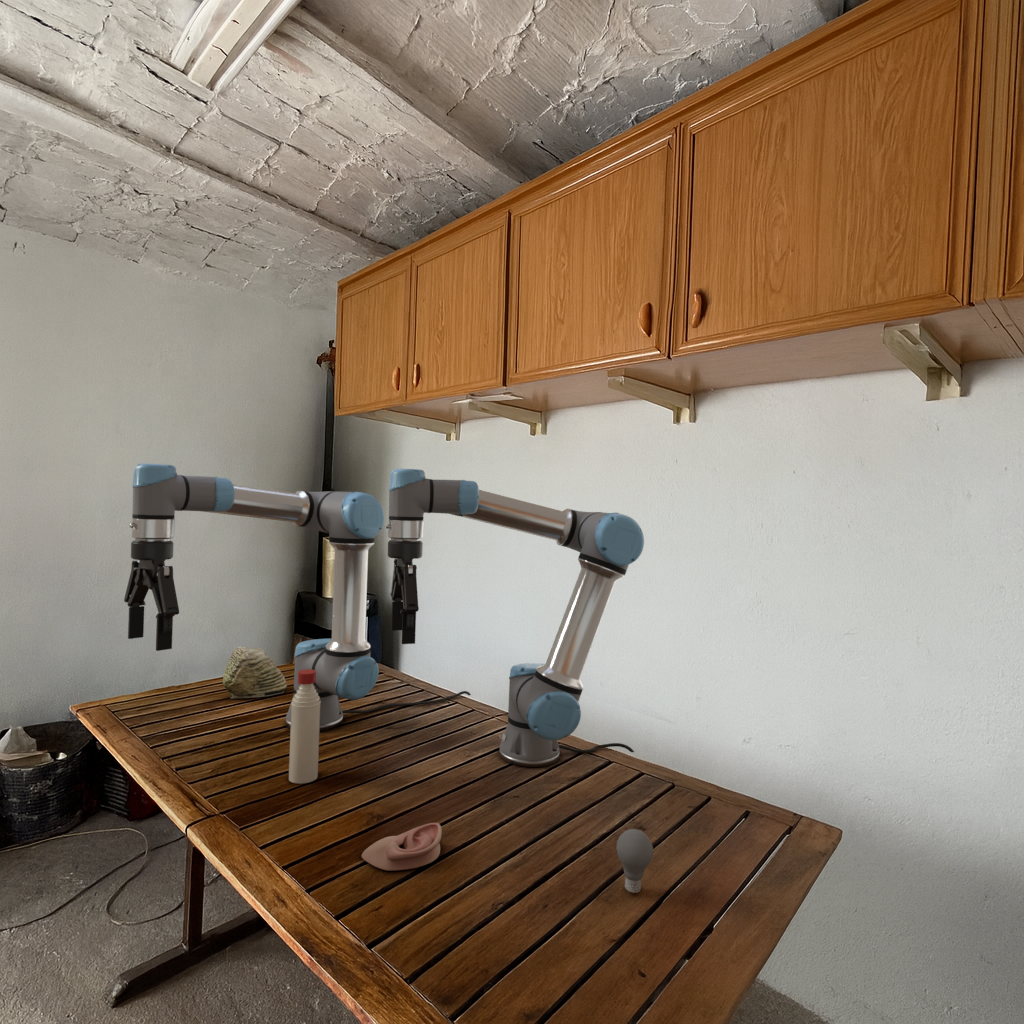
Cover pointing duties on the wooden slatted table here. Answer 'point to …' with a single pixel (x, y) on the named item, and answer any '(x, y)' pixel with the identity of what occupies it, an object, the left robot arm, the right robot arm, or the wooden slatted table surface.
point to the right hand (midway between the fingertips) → (402, 636)
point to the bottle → (304, 735)
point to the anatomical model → (406, 849)
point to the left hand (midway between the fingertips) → (149, 643)
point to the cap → (307, 676)
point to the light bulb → (634, 857)
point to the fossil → (252, 674)
